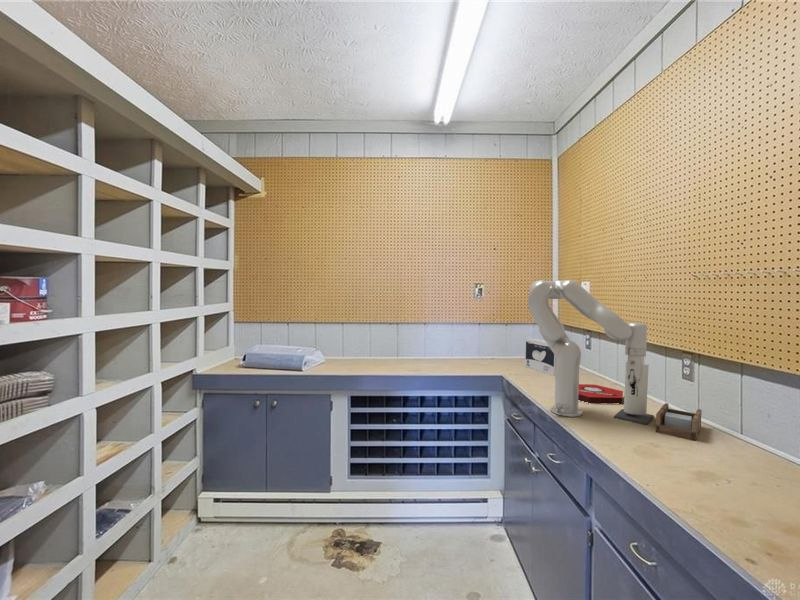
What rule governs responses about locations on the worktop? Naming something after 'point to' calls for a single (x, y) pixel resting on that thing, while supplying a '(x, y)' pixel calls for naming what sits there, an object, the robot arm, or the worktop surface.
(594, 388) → the plaque
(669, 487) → the worktop surface
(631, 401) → the paper towel roll
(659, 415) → the rack
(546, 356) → the packaging
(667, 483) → the worktop surface
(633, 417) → the mat
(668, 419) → the offcut block
